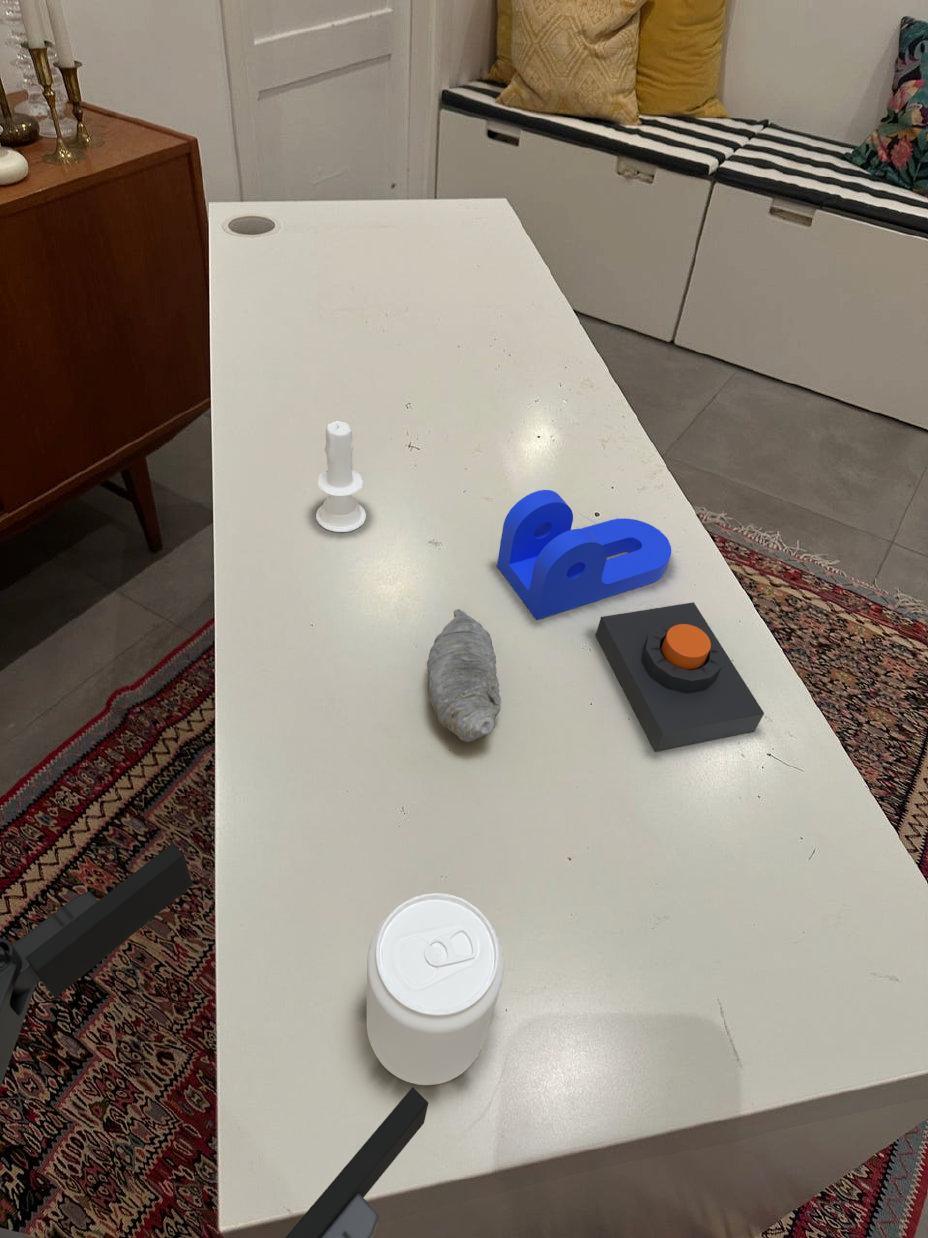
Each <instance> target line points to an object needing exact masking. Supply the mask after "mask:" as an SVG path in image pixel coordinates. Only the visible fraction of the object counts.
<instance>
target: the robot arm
mask: <svg viewBox="0 0 928 1238" xmlns="http://www.w3.org/2000/svg"><path fill="white" fill-rule="evenodd" d="M193 886H194V884H193V880H192V878H191V873H190V870H189V867H188V863H187V860H186V856H185V854H184V853H183V852H182V851H181V850H180V849H179V848H178V847H177V846H176V845H175V843H174V842H173V843H171V844H169V845H168V846H167V847H165V848H164V849H163V850H162V851H161V852H159V853H158V854H157V855H155V856H153V857H152V858H151V859H150V860H149V861H147V862H146V863H145V864H143V865H142V866H141V867H140V868H138V870H135V872H134V873H132V874H131V875H129V876H128V877H127V878H125V879H124V880H123V881H122V882H121V883H119V884H118V885H117V886H116V887H114V888H113V889H111V890H110V891H109V892H108V893H106V894H105V895H104V896H102V897H101V898H100V899H97V898H96V897H95V896H94V894H93V893H92V892H91V891H87V892H85V893H82V894H79V895H76V896H74V897H73V898H72V899H71V900H69V901H68V902H66V904H64V905H63V906H62V907H60V908H59V909H58V910H56V911H55V912H54V913H53V914H51V915H49V916H48V917H47V918H46V919H44V920H43V921H42V922H40V923H39V924H38V925H36V926H35V927H34V928H32V929H31V930H30V931H29V932H27V933H26V934H24V935H23V936H22V937H21V938H19V939H17V940H16V941H13V942H10V941H9V940H8V939H7V938H2V937H0V1089H1V1088H2V1084H3V1082H4V1079H5V1076H6V1074H7V1070H8V1067H9V1064H10V1061H11V1058H12V1056H13V1053H14V1050H15V1047H16V1043H17V1041H18V1039H19V1035H20V1032H21V1029H22V1026H23V1024H24V1021H25V1018H26V1015H27V1012H28V1009H29V1006H30V1003H31V1000H32V997H33V995H34V992H35V989H36V984H37V983H38V982H41V983H42V984H43V986H44V987H45V989H47V991H48V992H49V993H50V994H51V996H52V997H53V998H54V999H56V998H58V997H59V996H60V995H61V994H62V993H64V992H65V991H67V989H68V988H70V987H71V986H72V985H74V984H75V983H76V982H77V981H78V980H80V979H81V978H82V977H83V976H84V975H85V974H87V973H88V972H89V971H90V970H92V969H93V968H94V967H95V966H96V965H98V964H99V963H100V962H102V961H103V960H104V959H105V958H106V957H107V956H109V955H110V954H111V953H112V952H113V951H115V950H116V949H117V948H118V947H119V946H121V945H122V944H123V943H125V942H126V941H127V940H128V939H129V938H131V937H132V936H133V935H134V934H135V933H136V932H138V931H139V930H140V929H142V928H143V927H144V926H145V925H147V923H149V922H150V921H151V920H152V919H154V918H155V917H156V916H157V915H158V914H160V913H161V912H162V911H163V910H164V909H166V908H167V907H168V906H169V905H171V904H172V903H173V902H175V900H177V899H178V898H179V897H180V896H182V895H183V894H184V893H185V892H187V891H188V890H189V889H190V888H191V887H193ZM428 1107H429V1102H428V1101H427V1100H426V1098H424V1097H423V1095H422V1094H421V1093H420V1092H419V1091H417V1089H416V1088H415V1087H414V1086H412V1087H411V1088H410V1089H409V1091H407V1093H406V1094H405V1095H404V1096H403V1097H402V1099H401V1100H400V1101H399V1102H398V1104H397V1105H396V1106H395V1107H394V1108H393V1109H392V1111H391V1112H390V1113H389V1114H388V1115H387V1116H386V1117H385V1119H384V1120H383V1121H382V1122H381V1124H380V1125H378V1127H377V1128H376V1130H375V1131H374V1132H373V1133H372V1134H371V1136H370V1137H368V1139H367V1140H366V1141H365V1143H364V1144H363V1145H362V1146H361V1147H360V1148H359V1149H358V1151H357V1152H356V1153H355V1154H354V1156H353V1157H352V1158H351V1159H350V1160H349V1161H348V1163H346V1165H345V1166H344V1167H343V1169H341V1171H340V1172H339V1173H338V1175H337V1176H336V1177H335V1178H334V1179H333V1181H332V1182H330V1184H329V1185H328V1186H327V1187H326V1189H325V1190H324V1191H323V1192H322V1193H321V1194H320V1196H319V1197H318V1198H317V1199H316V1200H315V1202H314V1203H313V1204H312V1205H311V1206H310V1208H309V1209H308V1210H307V1211H306V1212H305V1213H304V1215H303V1216H302V1217H301V1218H300V1219H299V1220H298V1222H297V1223H296V1224H295V1225H294V1227H292V1229H291V1230H290V1231H289V1233H288V1234H287V1235H286V1236H285V1237H284V1238H374V1236H375V1233H376V1230H377V1227H378V1224H379V1219H380V1214H378V1213H377V1211H376V1210H375V1209H374V1208H373V1207H372V1206H371V1204H369V1202H368V1201H367V1200H366V1199H365V1197H366V1195H367V1194H368V1193H369V1192H370V1190H372V1188H373V1187H374V1186H375V1185H376V1183H377V1182H378V1181H379V1179H380V1178H381V1177H382V1176H383V1174H384V1173H385V1172H386V1171H387V1170H388V1168H389V1167H390V1166H391V1164H392V1163H393V1162H394V1161H395V1160H396V1159H397V1158H398V1156H399V1155H400V1154H401V1152H402V1151H403V1150H404V1149H405V1147H406V1146H408V1144H409V1142H410V1141H411V1140H412V1139H413V1137H415V1135H416V1134H417V1133H418V1131H419V1130H420V1129H421V1128H422V1126H423V1125H424V1124H425V1122H426V1116H427V1112H428ZM0 1238H39V1237H38V1236H33V1235H30V1234H27V1233H22V1232H18V1231H14V1230H11V1229H6V1228H3V1227H0Z"/></svg>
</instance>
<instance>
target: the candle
mask: <svg viewBox="0 0 928 1238" xmlns="http://www.w3.org/2000/svg"><path fill="white" fill-rule="evenodd" d="M352 431H353V430H352V427H351V426H350V424H349V423H347V422H344V421H340V420H334V421H333V422H331V423H327V425H326V427H325V446H324V452H325V454H326V467H327V470H325V471H323V472H322V473H321V474H319V476H318V477H317V486H318V488H319V489H320V490H321V491H322V493H325V494H328V495H329V496H328V497H327V498H326V499H324V501H323V503H322V505H321V506H320V507H318V509H317V511H316V514H315V519H316V521H317V523H318V524H319V525H320V526H321V527H322V528H323V529H326V530H327V531H330V532H334V533H349V532H352V531H355V530H357V529H359V528H360V527H362V526H363V524H364V523H365V522H366V519H367V513H366V510H365V509H364V507H363V506H362V505H360V504H359V502H358V501H357V499H356V498H354V497H353V496H352V495H354V494H356V493H358V492H359V491H360V490H361V489H362V487H363V485H364V479H363V477H362V476H361V475H360V473H358V471H355V470H354V469H353V451H354V443H353V432H352Z"/></svg>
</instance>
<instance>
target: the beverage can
mask: <svg viewBox="0 0 928 1238" xmlns="http://www.w3.org/2000/svg"><path fill="white" fill-rule="evenodd" d="M504 975H505V958H504V951H503V946H502V943H501V940H500V938H499V935H498V933H497V931H496V930H495V928H494V926H493V925H492V923H491V922H490V921H489V920H488V918H487V917H486V915H484V913H483V912H482V911H481V910H480V909H479V908H478V907H476V906H475V905H474V904H472V903H471V902H469V901H467V900H466V899H464V898H461V897H460V896H457V895H453V894H450V893H442V892H430V893H424V894H419V895H417V896H413V897H411V898H409V899H407V900H406V901H404V902H402V903H401V904H400V905H398V906H397V907H395V908H394V909H392V911H390V912H389V913H388V914H387V915H386V916H385V917H384V918H383V919H382V921H381V922H380V923H379V925H378V926H377V927H376V929H375V931H374V933H373V936H372V938H371V941H370V943H369V946H368V951H367V959H366V1031H367V1036H368V1037H367V1038H368V1041H369V1044H370V1046H371V1049H372V1052H373V1053H374V1055H375V1056H376V1059H378V1061H379V1062H380V1063H381V1065H382V1066H383V1067H384V1068H385V1069H386V1070H387V1071H388V1072H390V1073H391V1074H392V1075H394V1076H395V1077H396V1078H398V1079H399V1080H402V1081H404V1082H407V1083H410V1084H414V1085H418V1086H434V1085H439V1084H443V1083H447V1082H449V1081H452V1080H454V1079H456V1078H457V1077H459V1076H461V1075H463V1073H464V1072H465V1071H467V1070H468V1069H469V1068H470V1067H471V1066H472V1065H473V1063H474V1062H475V1061H476V1059H477V1058H478V1057H479V1055H480V1053H481V1051H482V1048H483V1046H484V1044H485V1042H486V1041H485V1040H486V1038H487V1034H488V1032H489V1028H490V1025H491V1021H492V1018H493V1015H494V1011H495V1007H496V1004H497V1002H498V999H499V995H500V991H501V988H502V984H503V981H504Z"/></svg>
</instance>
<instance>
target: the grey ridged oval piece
mask: <svg viewBox="0 0 928 1238" xmlns="http://www.w3.org/2000/svg"><path fill="white" fill-rule="evenodd" d="M496 663H497V656H496V654H495V651H494V646H493V640H492V637H491V634H490V633H489V631H487V629H485V628H484V627H483V625H482V624H481V623H480V622H479V621H477V620H476V619H474V618H473V617H471V616H469V615H468V614H467V612H465V611H463V610H461V609H459V608H457V609H455V610H453V618H452V619H451V620H450V621H449V622H448V623H447V624H446V625H445V626H444V628H443V629H442V631H441V632H440V633H439V634H438V635H437V636H436V637H435V638H434V641H433V645H432V646H431V647H430V650H429V653H428V659H427V661H426V667H427V673H428V676H429V677H428V681H427V682H428V683H427V684H428V685H427V687H428V690H429V692H428V694H429V695H428V697H429V698H428V702H429V703H430V704H431V705H432V707H433V710H434V711H435V713H436V715H437V719H438V722H439V723H440V725H442V726H443V727H444V728H446V729H448V730H449V731H450V732H452V733H453V734H454V735H455V736H457V737H458V739H460V740H461V741H463V742H466V743H469V742H470V743H472V742H474V741H475V740H478V739H479V738H481V737H483V736H486V735H488V734H491V733H493V732H494V730H495V727H496V726H495V718H496V717H497V716H498V715H499V713H500V711H501V706H502V705H501V703H502V701H501V700H502V698H501V694H500V689H499V687H500V683H499V678H498V676H497V673H498V671H497V666H496V665H497V664H496Z"/></svg>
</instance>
